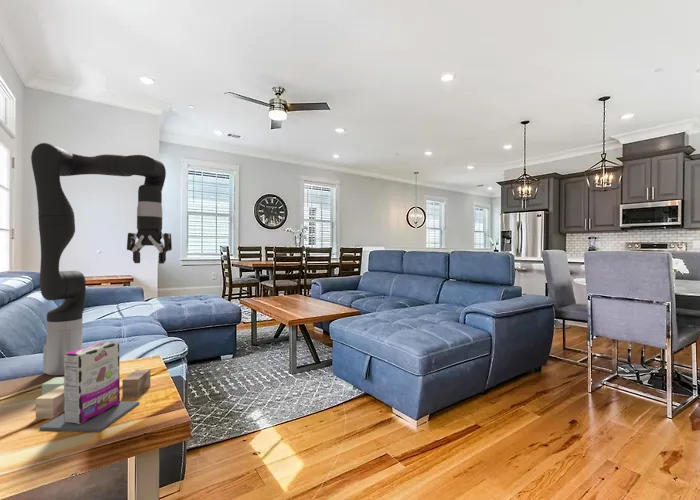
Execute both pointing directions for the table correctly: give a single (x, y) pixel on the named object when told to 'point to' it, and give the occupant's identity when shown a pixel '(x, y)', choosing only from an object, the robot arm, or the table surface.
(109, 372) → the candy bar box
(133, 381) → the walnut block
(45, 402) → the beech block
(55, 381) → the sage cube
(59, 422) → the mat
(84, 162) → the robot arm
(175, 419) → the table surface
